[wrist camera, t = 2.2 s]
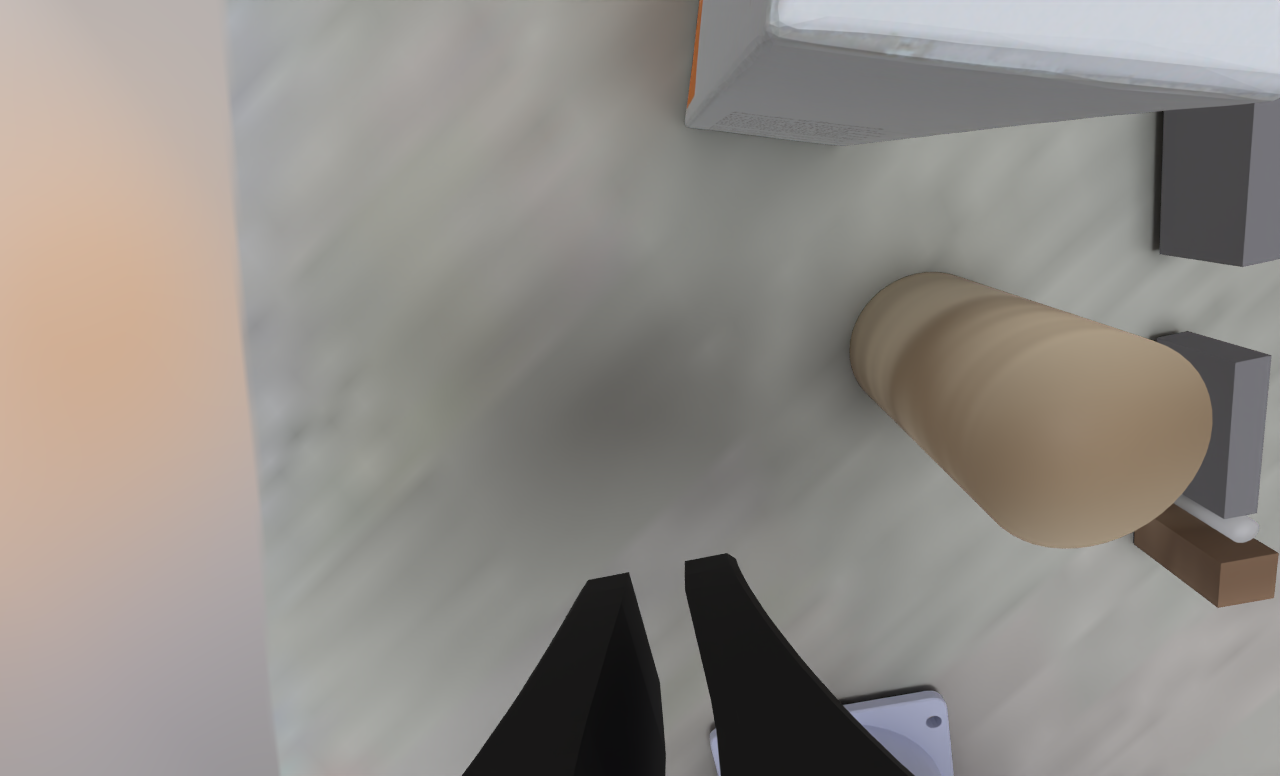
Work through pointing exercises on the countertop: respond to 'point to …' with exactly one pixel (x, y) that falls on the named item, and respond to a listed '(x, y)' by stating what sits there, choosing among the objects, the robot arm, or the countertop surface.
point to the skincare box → (969, 63)
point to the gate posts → (1209, 558)
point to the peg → (1034, 407)
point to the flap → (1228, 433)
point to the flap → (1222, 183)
